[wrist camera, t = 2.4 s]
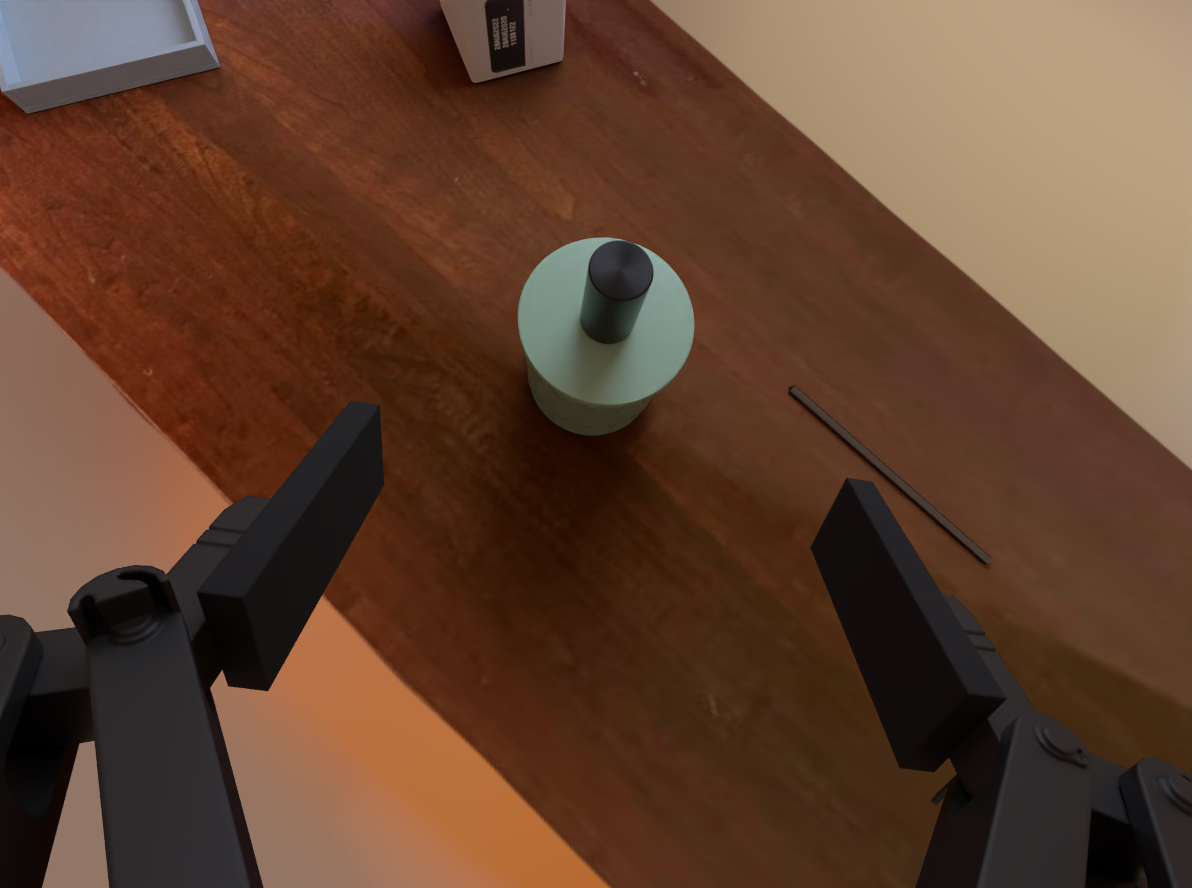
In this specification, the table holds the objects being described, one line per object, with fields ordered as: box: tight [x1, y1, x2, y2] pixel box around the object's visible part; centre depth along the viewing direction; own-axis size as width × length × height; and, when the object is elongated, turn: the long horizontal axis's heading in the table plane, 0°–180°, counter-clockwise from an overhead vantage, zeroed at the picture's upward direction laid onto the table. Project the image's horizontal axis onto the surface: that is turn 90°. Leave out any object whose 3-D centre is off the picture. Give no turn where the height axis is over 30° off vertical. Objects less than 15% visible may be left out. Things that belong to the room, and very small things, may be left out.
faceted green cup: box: [527, 359, 654, 436], centre depth 36 cm, size 9×9×10 cm
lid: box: [517, 238, 694, 408], centre depth 29 cm, size 10×10×7 cm
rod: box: [789, 385, 992, 564], centre depth 41 cm, size 1×19×1 cm, turn 48°
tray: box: [0, 0, 220, 114], centre depth 41 cm, size 14×14×2 cm
